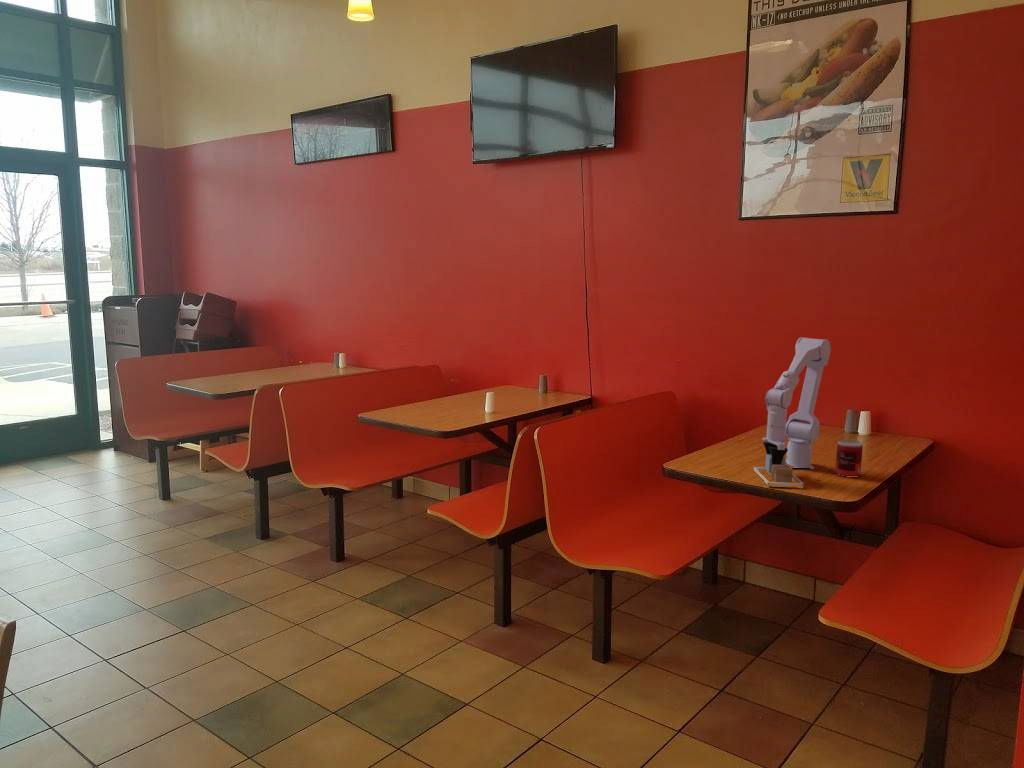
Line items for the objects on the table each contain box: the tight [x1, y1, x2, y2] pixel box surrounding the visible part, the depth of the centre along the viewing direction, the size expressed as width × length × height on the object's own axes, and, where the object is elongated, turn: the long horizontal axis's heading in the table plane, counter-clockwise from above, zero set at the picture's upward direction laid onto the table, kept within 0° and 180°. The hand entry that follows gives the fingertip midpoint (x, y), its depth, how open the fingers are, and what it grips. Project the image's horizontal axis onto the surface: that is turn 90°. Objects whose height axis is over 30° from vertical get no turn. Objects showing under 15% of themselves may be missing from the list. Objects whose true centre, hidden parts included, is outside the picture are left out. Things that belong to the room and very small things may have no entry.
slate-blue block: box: [764, 453, 786, 473], centre depth 255 cm, size 5×5×5 cm
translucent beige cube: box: [771, 464, 794, 483], centre depth 246 cm, size 5×5×5 cm
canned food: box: [835, 439, 864, 477], centre depth 256 cm, size 8×8×11 cm
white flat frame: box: [752, 466, 805, 488], centre depth 251 cm, size 18×11×2 cm, turn 176°
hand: (773, 465), depth 255 cm, fingers closed on slate-blue block, 5 cm apart
